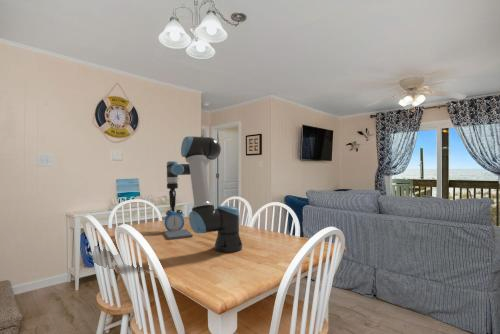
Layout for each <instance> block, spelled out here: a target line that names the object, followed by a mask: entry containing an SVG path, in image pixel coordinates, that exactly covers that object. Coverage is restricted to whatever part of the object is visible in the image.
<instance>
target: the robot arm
mask: <svg viewBox="0 0 500 334" xmlns="http://www.w3.org/2000/svg"><path fill="white" fill-rule="evenodd" d="M221 150H222V147H221V145H220V142H219V141H218V140H217V139H215V138H212V137H210V136H208V137H207V136H193V135H192V136H191V135H190V136H188V135H187V136H185V137H184V138H183V139H182V142H181V146H180V154H181V157H182V158H185V162H186V163H178V161H175V160H174V161H171V160H169V161H167V162H166V189H169V190H168V195H169V208H170V209H169V210H172V211H173V212H176V209H175V208H176V196H177V194H176V193H177V192H176V190H177V189H179V188H178V187H179V186H178V185H179V184H178V180H179V178H178V177H179V176H185V175H187V176H189V175H190V181H191V189H192V199H193V205H192V208H191V211H190V212H189V214H188V221H189V226H190V228H191V230H192V231H193V233H195V234H206V233H212V232H217V236H216V239H215V243H214V250H215V251H216V252H219V253H235V252H238V251H241V250H242V249H243V242H242V239H241V237H240V210H239V208H238V207H235V206H232V205H218V206H217V208H215V205H214V204H213V203H211V198H210V190H209V184H208V176H207V170H206V166H207V165H208V164H209V163H210V162H211V161H214V160H215V159H218V157H219V156H220V154H221V152H222V151H221Z"/></svg>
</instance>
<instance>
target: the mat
mask: <svg viewBox="0 0 500 334" xmlns="http://www.w3.org/2000/svg"><path fill="white" fill-rule="evenodd" d="M163 234H164V236H165V237H166V238H167V240H168V241H169V240H177V239H178V240H179V239H186V238H193V234H192V232H190V231H189V230H188V229H187V228H182V229H181V230H171V231H168V230H164V232H163Z"/></svg>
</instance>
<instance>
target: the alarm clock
mask: <svg viewBox="0 0 500 334" xmlns="http://www.w3.org/2000/svg"><path fill="white" fill-rule="evenodd" d="M183 214H184V212H183V210H182V209H177V210H175V212H173V211H172V210H170V209H169V210H167V211H166V212H165V215H166V216H165V218H164V227H165V229H166V231H171V230H181V229H184V226H185V218H184V216H183Z"/></svg>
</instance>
